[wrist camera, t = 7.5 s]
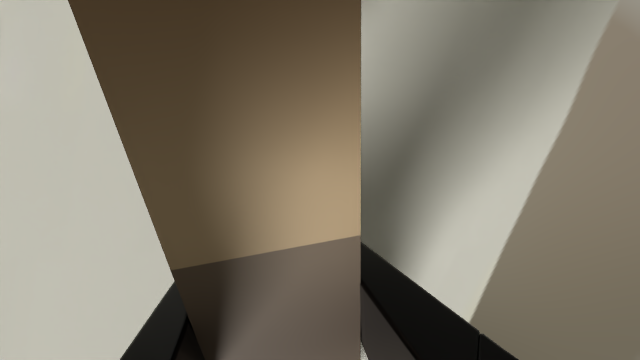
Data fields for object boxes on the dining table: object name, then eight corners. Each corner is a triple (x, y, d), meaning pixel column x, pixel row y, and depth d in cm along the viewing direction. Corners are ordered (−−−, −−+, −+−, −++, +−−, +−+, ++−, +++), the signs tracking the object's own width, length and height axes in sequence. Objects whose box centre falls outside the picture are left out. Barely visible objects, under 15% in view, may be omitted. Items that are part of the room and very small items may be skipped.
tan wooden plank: (332, 315, 13) (359, 415, 10) (233, 336, 12) (237, 445, 10) (284, -487, 5) (363, -921, 2) (-14, -505, 4) (-340, -1069, 2)
